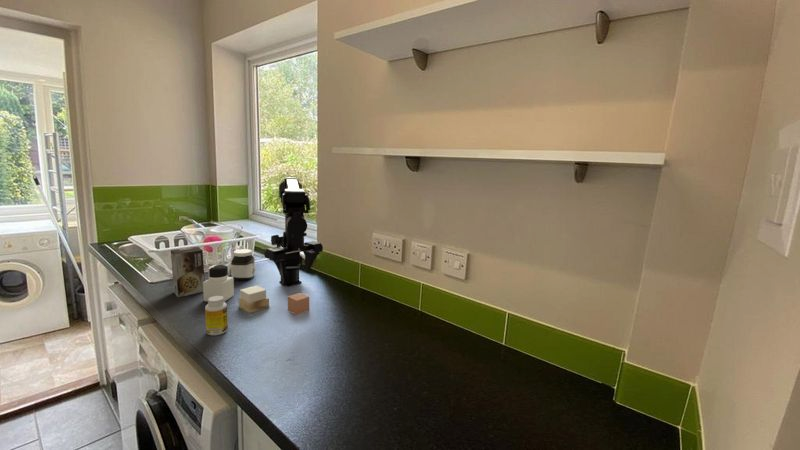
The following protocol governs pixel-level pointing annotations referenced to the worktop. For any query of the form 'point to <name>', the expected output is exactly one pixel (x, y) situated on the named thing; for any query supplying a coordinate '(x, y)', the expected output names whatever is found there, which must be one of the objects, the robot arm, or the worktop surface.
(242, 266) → the spread jar
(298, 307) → the terracotta block
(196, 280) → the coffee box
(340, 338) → the worktop surface
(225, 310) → the supplement bottle
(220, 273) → the medicine bottle
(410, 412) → the worktop surface
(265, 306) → the oak base block
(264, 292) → the cream block
